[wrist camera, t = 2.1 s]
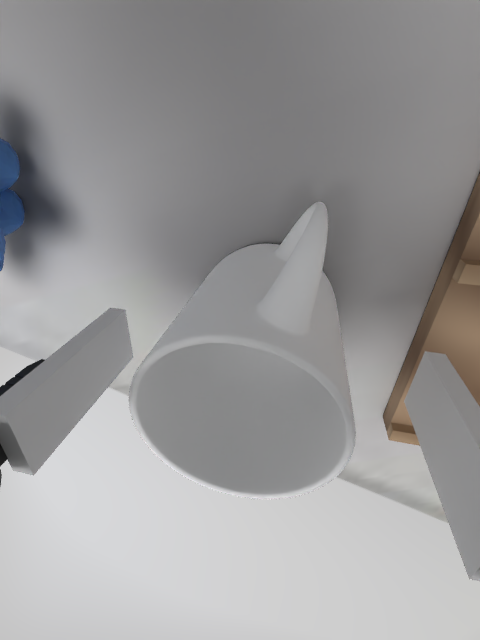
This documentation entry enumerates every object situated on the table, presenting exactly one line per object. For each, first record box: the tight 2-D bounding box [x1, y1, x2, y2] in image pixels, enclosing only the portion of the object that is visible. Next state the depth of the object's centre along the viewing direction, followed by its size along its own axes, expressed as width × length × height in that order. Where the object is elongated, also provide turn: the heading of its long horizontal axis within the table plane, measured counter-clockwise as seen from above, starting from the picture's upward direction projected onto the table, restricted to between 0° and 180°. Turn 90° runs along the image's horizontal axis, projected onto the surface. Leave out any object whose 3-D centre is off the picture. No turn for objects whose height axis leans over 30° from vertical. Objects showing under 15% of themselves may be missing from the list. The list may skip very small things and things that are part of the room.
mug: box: [129, 202, 356, 499], centre depth 15 cm, size 9×12×11 cm
